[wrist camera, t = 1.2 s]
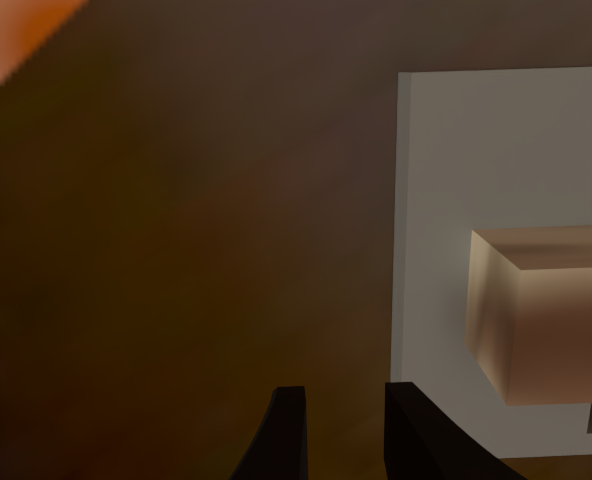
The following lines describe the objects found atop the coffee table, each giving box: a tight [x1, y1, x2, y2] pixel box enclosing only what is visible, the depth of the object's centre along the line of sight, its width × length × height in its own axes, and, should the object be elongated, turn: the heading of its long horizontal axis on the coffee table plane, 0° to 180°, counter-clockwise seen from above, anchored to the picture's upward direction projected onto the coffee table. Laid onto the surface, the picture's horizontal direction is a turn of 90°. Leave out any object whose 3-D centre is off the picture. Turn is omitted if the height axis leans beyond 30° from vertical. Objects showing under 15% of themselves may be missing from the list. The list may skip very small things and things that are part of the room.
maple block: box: [464, 225, 592, 406], centre depth 18 cm, size 4×4×4 cm
